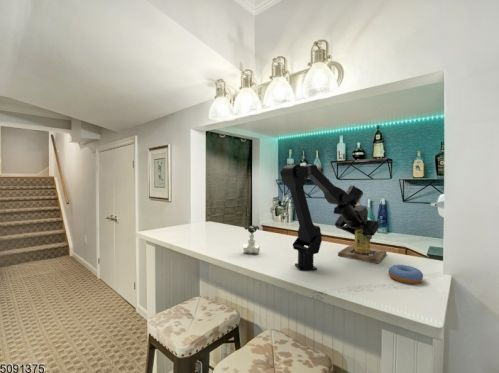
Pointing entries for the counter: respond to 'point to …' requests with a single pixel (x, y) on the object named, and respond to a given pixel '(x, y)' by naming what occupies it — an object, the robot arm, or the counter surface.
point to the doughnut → (405, 274)
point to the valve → (251, 241)
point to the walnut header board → (375, 258)
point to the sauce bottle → (362, 240)
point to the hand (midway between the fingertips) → (364, 237)
